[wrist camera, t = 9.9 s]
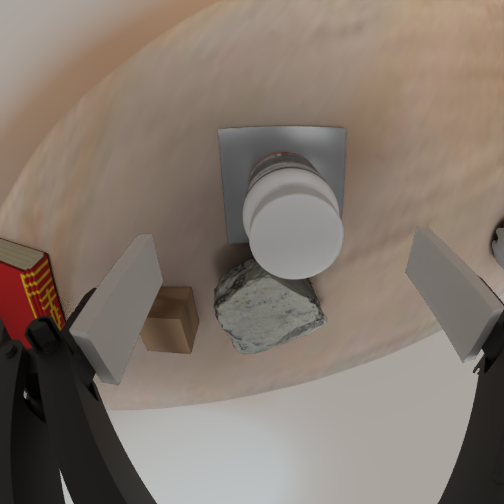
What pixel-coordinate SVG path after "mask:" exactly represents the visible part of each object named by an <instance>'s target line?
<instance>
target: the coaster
mask: <svg viewBox="0 0 504 504" xmlns="http://www.w3.org/2000/svg"><path fill="white" fill-rule="evenodd" d="M218 134H219V147H220V160H221V172H222V184H223V195H224V206H225V217H226V227H227V238H228V243H249V238H248V236H247V234H246V231H245V228H244V225H243V206H244V201H245V196H246V191H247V186H248V181H249V177H250V174H251V172H252V170H253V168H254V167H255V165H256V164H257V163H258V162H259V161H260V160H261V159H263V158H264V157H266V156H268V155H270V154H273V153H276V152H292V153H295V154H298V155H300V156H302V157H304V158H305V159H307V160H308V161H309V162H310V163H311V164H312V165H313V166H314V168H315V169H316V170H317V171H318V173H319V174H320V175H321V176H322V177H323V179H324V180H325V181H326V182H327V184H328V185H329V186H330V188H331V189H332V191H333V193H334V194H335V197H336V199H337V202H338V206H339V217H340V219H342V208H343V194H344V179H345V158H346V128H341V127H322V126H254V127H235V128H221V129H218Z"/></svg>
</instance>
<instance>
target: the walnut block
mask: <svg viewBox="0 0 504 504" xmlns="http://www.w3.org/2000/svg"><path fill="white" fill-rule="evenodd" d="M198 325H199V318H198V314H197V310H196V306H195V301H194V297H193V292H192V288H191V287H160V289H159V291H158V293H157V296H156V298H155V300H154V302H153V304H152V307H151V309H150V311H149V313H148V316H147V318H146V320H145V322H144V325H143V327H142V329H141V332H140V335H141V337H142V339H143V342H144V344H145V346H146V348H147V350H149V351H160V352H172V353H186V354H191V352H192V348H193V344H194V340H195V336H196V332H197V328H198Z"/></svg>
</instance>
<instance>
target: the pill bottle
mask: <svg viewBox="0 0 504 504" xmlns="http://www.w3.org/2000/svg"><path fill="white" fill-rule="evenodd" d="M243 225H244V228H245V231H246V234H247V236H248V238H249V244H250V248H251V251H252V254H253V256H254V258H255V259H256V261H257V262H258V263H259V265H260V266H261V267H262V268H264V269H265V270H266V271H268V272H269V273H271V274H273V275H275V276H278V277H281V278H284V279H304V278H308V277H312V276H314V275H317V274H319V273H321V272H322V271H324V270H325V269H326V268H328V267H329V266H330V265H331V264H332V263H333V262H334V260H335V259H336V258H337V256H338V254H339V252H340V250H341V247H342V244H343V238H344V232H343V225H342V222H341V219H340V217H339V206H338V202H337V199H336V197H335V194H334V193H333V191H332V189H331V188H330V186H329V185H328V184H327V182H326V181H325V180H324V179H323V177H322V176H321V175H320V174H319V173H318V171H317V170H316V169H315V168H314V166H313V165H312V164H311V163H310V162H309V161H308V160H307V159H305V158H304V157H302V156H300V155H298V154H295V153H292V152H276V153H273V154H270V155H268V156H266V157H264V158H263V159H261V160H260V161H259V162H258V163H257V164H256V165H255V167H254V168H253V170H252V172H251V174H250V177H249V181H248V186H247V191H246V196H245V201H244V206H243Z"/></svg>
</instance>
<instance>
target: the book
mask: <svg viewBox="0 0 504 504" xmlns="http://www.w3.org/2000/svg"><path fill="white" fill-rule="evenodd" d="M44 315H46V316H51V317H53V319H54V321H55V323H56V324H57V326H58V328H59V330H60V331H61V329H62V328H63V326H64V325H65V321H64V318H63V315H62V312H61V309H60V305H59V302H58V298H57V295H56V291H55V288H54V284H53V280H52V276H51V272H50V267H49V263H48V258H47V253H45V252H42V251H39V250H36V249H32V248H29V247H26V246H23V245H20V244H17V243H13V242H10V241H7V240H4V239H1V238H0V317H1V319H2V321H3V323H4V326H5V328H6V330H7V332H8V334H9V336H10V337H11V339H12V340H13V339H18V340H20V341H21V342H22V344H23V345H24V346H25V348H26V349H28V348H32V346H31V345H30V343H29V342H28V340H27V339H26V337H25V336H24V333H25V329H26V328H27V326H28V325H29V324H30V323H31V322H32V321H33V320H34V319H36V318H38V317H41V316H44Z"/></svg>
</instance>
